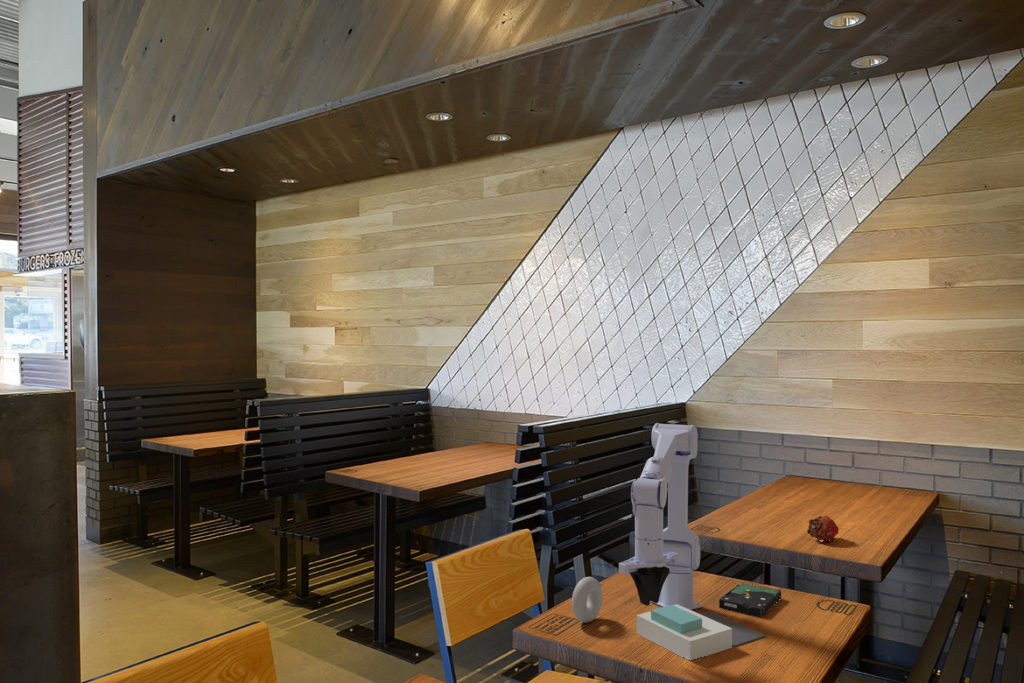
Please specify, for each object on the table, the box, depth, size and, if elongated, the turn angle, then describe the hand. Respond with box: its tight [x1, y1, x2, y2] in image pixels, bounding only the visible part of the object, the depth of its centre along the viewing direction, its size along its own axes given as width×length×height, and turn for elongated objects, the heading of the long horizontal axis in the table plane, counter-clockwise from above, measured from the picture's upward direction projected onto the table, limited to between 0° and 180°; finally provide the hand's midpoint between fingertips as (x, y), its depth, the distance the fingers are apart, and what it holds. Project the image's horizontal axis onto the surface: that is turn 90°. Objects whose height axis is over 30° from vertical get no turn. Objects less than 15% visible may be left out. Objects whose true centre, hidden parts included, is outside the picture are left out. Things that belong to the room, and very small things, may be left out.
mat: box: [699, 610, 767, 648], centre depth 162 cm, size 16×10×1 cm, turn 31°
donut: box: [571, 576, 604, 623], centre depth 167 cm, size 10×4×10 cm, turn 141°
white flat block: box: [636, 604, 733, 662], centre depth 156 cm, size 16×12×4 cm
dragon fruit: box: [806, 515, 839, 542], centre depth 230 cm, size 8×8×12 cm
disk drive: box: [718, 582, 782, 618], centre depth 177 cm, size 10×3×15 cm
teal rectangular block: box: [650, 605, 702, 634], centre depth 155 cm, size 9×6×2 cm, turn 31°
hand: (649, 602), depth 151 cm, fingers closed
